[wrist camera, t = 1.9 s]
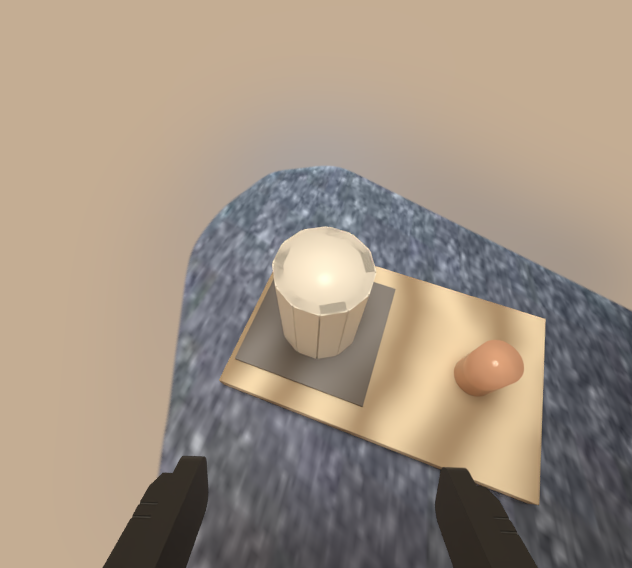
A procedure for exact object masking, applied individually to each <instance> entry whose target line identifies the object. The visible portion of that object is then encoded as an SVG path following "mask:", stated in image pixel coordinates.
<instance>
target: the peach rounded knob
mask: <svg viewBox="0 0 632 568" xmlns="http://www.w3.org/2000/svg"><path fill="white" fill-rule="evenodd" d="M523 372H524V363H523V360H522V357H521V356H520V354H519V352H518V351H517V350H516V349H515V348H514V347H513V346H511V345H510V344H508V343H506V342H504V341H501V340H489V341H487V342H485V343H483V344H482V345H481V346H479V347H478V348H476V349H475V350H474V351H472V352H471V353H469V354H468V355H466V356H465V357H464V358H462V359H461V360H460V361H458V362H457V364H456V365H455V368H454V377H455V380H456V383H457V384H458V386H459V387H460V388H461V389H462V390H463V391H464V392H466V393H467V394H469V395H472V396H484V395H486V394H489V393H491V392H493V391H496V390H498V389H501V388H503V387H506V386H508V385H510V384H513V383H515V382H517V381H518V380H519V379H520V378H521V377H522V375H523Z"/></svg>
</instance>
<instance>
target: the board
mask: <svg viewBox="0 0 632 568" xmlns="http://www.w3.org/2000/svg"><path fill="white" fill-rule="evenodd" d="M375 268H376V276H375V279H374V282H373V285H372V288H371V292H370V295H369V297H368V300H367V303H366V306H365V309H364V312H363V314H362V317H361V320H360V323H359V326H358V329H357V331H356V334H355V337H354V340H353V342H352V344H351V345H349V346H348V347H347V348H346V349H345V350H343V351H342V352H341V353H340V354H339V355H336V356H333V357H327V358H321V359H317V357H316V359H315V358H312V357H309V356H307V355H304V354H301V353H298V351H296V350H295V349H294V348H293V347H292V345H291V344H290V343H289V342H288V341H287V339H286V338H285V336H284V332H283V326H282V321H281V316H280V310H279V305H278V299H277V294H276V288H275V282H274V274H273V272H272V275H271V277H270V279H269V281H268V283H267V285H266V287H265V289H264V291H263V293H262V295H261V297H260V299H259V301H258V303H257V305H256V307H255V309H254V311H253V313H252V315H251V317H250V319H249V321H248V323H247V325H246V327H245V329H244V331H243V333H242V335H241V337H240V339H239V341H238V343H237V345H236V347H235V349H234V351H233V353H232V355H231V357H230V359H229V361H228V363H227V365H226V367H225V369H224V371H223V373H222V375H221V377H220V379H219V381H220V382H221V383H223V384H224V385H227V386H229V387H232V388H234V389H237V390H239V391H242V392H245V393H247V394H250V395H252V396H255V397H257V398H260V399H262V400H265V401H267V402H270V403H273V404H275V405H278V406H280V407H283V408H285V409H288V410H290V411H293V412H296V413H298V414H301V415H303V416H306V417H308V418H311V419H313V420H316V421H318V422H321V423H324V424H326V425H329V426H331V427H334V428H336V429H339V430H341V431H344V432H347V433H349V434H352V435H354V436H357V437H359V438H362V439H364V440H367V441H369V442H372V443H375V444H377V445H380V446H382V447H385V448H387V449H390V450H392V451H395V452H398V453H400V454H403V455H405V456H408V457H410V458H413V459H415V460H418V461H420V462H423V463H426V464H428V465H431V466H433V467H436V468H438V469H442V467H460V468H466V469H467V470H468V471H469V472H470V474H471V476H472V478H473V480H474V482H475V483H477V484H479V485H482V486H485V487H487V488H489V489H492V490H494V491H497V492H500V493H502V494H505V495H507V496H510V497H512V498H515V499H517V500H520V501H523V502H525V503H529V504H535V505H539V491H540V462H541V433H542V403H543V374H544V344H545V319H543V318H540V317H537V316H534V315H530V314H527V313H524V312H521V311H518V310H514V309H511V308H508V307H505V306H501V305H498V304H495V303H492V302H489V301H485V300H482V299H479V298H476V297H473V296H469V295H466V294H463V293H460V292H457V291H453V290H450V289H447V288H444V287H440V286H437V285H434V284H431V283H428V282H424V281H421V280H418V279H415V278H412V277H408V276H405V275H402V274H399V273H396V272H392V271H389V270H386V269H383V268H379V267H376V266H375ZM489 340H501V341H504V342H506V343H508V344H510V345H511V346H513V347H514V348H515V349H516V350H517V351H518V352H519V354H520V356H521V357H522V360H523V363H524V372H523V375H522V377H521V378H520V379H519V380H518V381H517V382H515V383H513V384H510V385H508V386H506V387H503V388H501V389H498V390H496V391H493V392H491V393H489V394H486V395H484V396H472V395H469V394H467V393H466V392H464V391H463V390H462V389H461V388H460V387H459V386H458V384H457V383H456V380H455V377H454V368H455V365H456V364H457V362H458V361H460V360H461V359H462V358H464V357H465V356H466V355H468V354H469V353H471V352H472V351H474V350H475V349H476V348H478V347H479V346H481V345H482V344H483V343H485V342H487V341H489Z"/></svg>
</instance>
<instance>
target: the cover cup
mask: <svg viewBox="0 0 632 568" xmlns="http://www.w3.org/2000/svg"><path fill="white" fill-rule="evenodd" d="M283 243H284V244H282V245H281V247H280V249H279V251H278V253H277V255H276V257H275V259H274V261H273V264H272V267H273V274H274V282H275V288H276V294H277V299H278V305H279V310H280V316H281V321H282V326H283V332H284V336H285V338H286V339H287V341H288V342H289V343H290V344H291V345H292V347H293V348H294V349H295V350H296V351H298V353H301V354H304V355H307V356H309V357H312V358H315V359H316V357H317V359H321V358H327V357H333V356H336V355H339V354H340V353H341V352H342V351H343V350H345V349H346V348H347V347H348V346H349V345H351V344H352V342H353V340H354V337H355V334H356V331H357V329H358V326H359V323H360V320H361V317H362V314H363V312H364V309H365V306H366V303H367V300H368V297H369V295H370V292H371V288H372V285H373V282H374V279H375V276H376V268H375V265H374V262H373V259H372V255H371V252H370V251H369V249H368V248H367V247H366V246H365V245H364V244H363V243H362V242H361V241H359V240H358V239H357V238H356V237H355V236H354V235H353V234H352V235H351V233H348V232H345V231H342V230H338V229H335V228H332V227H328V228H327V227H319V228H311V229H304V231H302V230H301V231H300V232H298V233H297V234H295V235H294V236H292V237H291V238H289V239H288V240H286V241H284V242H283Z"/></svg>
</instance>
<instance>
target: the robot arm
mask: <svg viewBox="0 0 632 568" xmlns="http://www.w3.org/2000/svg"><path fill="white" fill-rule="evenodd" d="M207 502H208V477H207V461H206V457H202V456H182V457H181V458H180V460H179V462H178V464H177V466H176V468H175V470H174V472H173V473H162V474H161V475H160V476H159V477H158V478H157V479H156V480H155V481H154V482H153V483H152V484H151V485H150V486H149V487H148V489H147V491H146V492H145V494H144V496H143V498H142V499H141V501H140V505H138V506H137V508H136V510H135V512H134V514H133V517H132V518H131V519H130V521H129V522H128V524H127V526H126V528H125V529H124V531H123V533H122V535H121V536H120V538H119V540H118V542H117V543H116V546H115V547H114V549H113V551H112V552H111V554H110V556H109V558H108V559H107V561H106V563H105V565H104V566H103V568H186V566H187V563H188V560H189V557H190V554H191V551H192V549H193V546H194V543H195V540H196V537H197V534H198V531H199V529H200V526H201V523H202V520H203V517H204V514H205V511H206V507H207ZM435 511H436V518H437V522H438V525H439V528H440V531H441V533H442V536H443V539H444V542H445V545H446V548H447V550H448V553H449V556H450V559H451V562H452V565H453V567H454V568H537V566H536V564H535V562H534V561H533V559H532V557H531V555H530V554H529V552H528V550H527V548H526V547H525V545H524V543H523V541H522V540H521V538H520V536H519V535H517V531H516V529H515V527H514V526H513V524H512V522H511V521H510V520H509V517H508V515H507V513H506V512H505V510H504V508H503V506H502V505H501V503H500V501H499V500H498V499H497V498H496V497H495V496H494V495H493V494H492V493H491V492H490V491H489V490H488V489H487V488H486V487H485V486H476V484H475V482H474V480H473V478H472V476H471V474H470V472H469V471H468V470H467V469H466V468H460V467H442V469H441V472H440V478H439V483H438V489H437V495H436V500H435Z"/></svg>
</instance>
